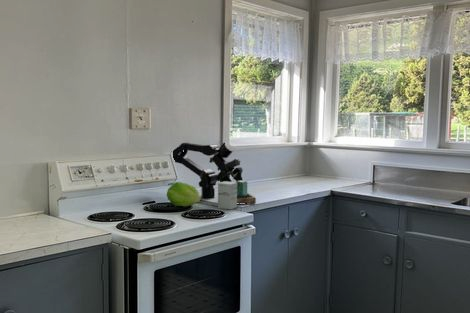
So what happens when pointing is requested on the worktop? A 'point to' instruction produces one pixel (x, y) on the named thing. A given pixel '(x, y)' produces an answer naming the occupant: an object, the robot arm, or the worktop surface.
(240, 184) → the tea tin
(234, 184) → the grey stone cylinder
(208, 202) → the worktop surface
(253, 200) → the box
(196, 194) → the green oval fruit
